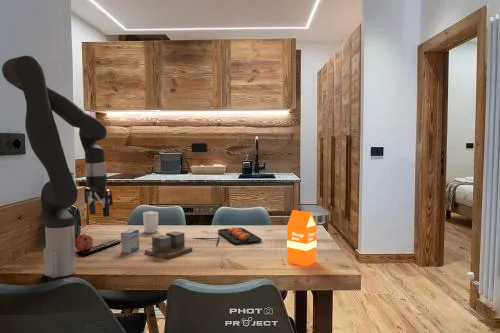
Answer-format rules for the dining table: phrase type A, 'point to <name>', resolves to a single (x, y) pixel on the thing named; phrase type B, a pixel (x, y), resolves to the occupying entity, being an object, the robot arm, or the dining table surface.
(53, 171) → the robot arm
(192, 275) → the dining table surface
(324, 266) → the dining table surface
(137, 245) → the medicine box
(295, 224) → the orange juice
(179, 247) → the display stand
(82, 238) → the red tomato
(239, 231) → the sushi plate
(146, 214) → the white cup
